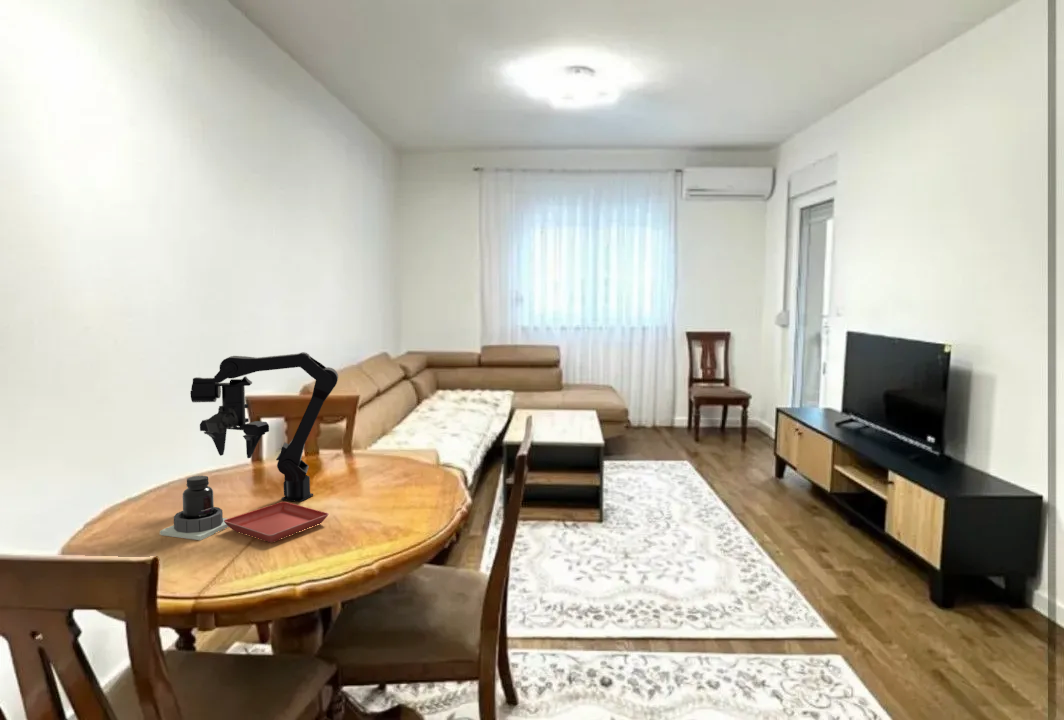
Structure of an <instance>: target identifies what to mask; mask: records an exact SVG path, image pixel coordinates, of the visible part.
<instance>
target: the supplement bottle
mask: <svg viewBox="0 0 1064 720" xmlns="http://www.w3.org/2000/svg"><path fill="white" fill-rule="evenodd" d="M209 484H210V481H209V476H207V475H195V476H189V477H187V478H186V489H184V491H183V492H182V511H183V519H188V520H189V519H201V518H205V517H209V516H212V515H214V507H215V505H214V489H213V488H212V487H210V486H209Z"/></svg>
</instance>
